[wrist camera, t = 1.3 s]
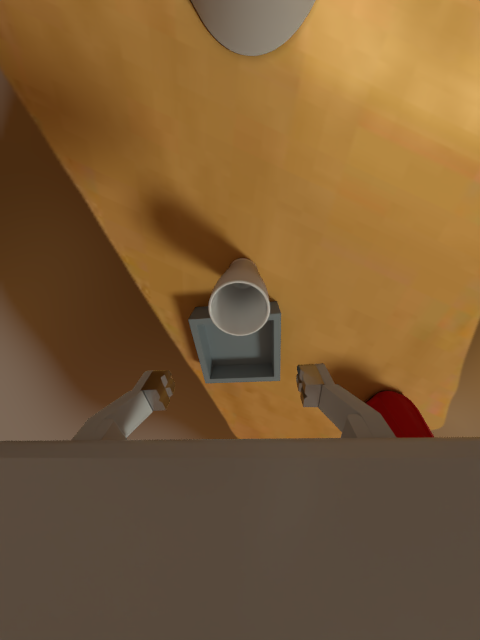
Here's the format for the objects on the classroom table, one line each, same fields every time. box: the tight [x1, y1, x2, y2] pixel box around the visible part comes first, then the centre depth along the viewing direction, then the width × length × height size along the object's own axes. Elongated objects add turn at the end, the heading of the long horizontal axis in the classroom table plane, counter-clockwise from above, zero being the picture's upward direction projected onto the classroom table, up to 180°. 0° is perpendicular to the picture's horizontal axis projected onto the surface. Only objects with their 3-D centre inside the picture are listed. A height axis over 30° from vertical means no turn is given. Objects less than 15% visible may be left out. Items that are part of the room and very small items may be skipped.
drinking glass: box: [208, 258, 270, 336], centre depth 26 cm, size 7×7×15 cm
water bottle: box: [366, 391, 434, 438], centre depth 36 cm, size 9×11×25 cm
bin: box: [188, 301, 281, 383], centre depth 37 cm, size 16×16×5 cm
